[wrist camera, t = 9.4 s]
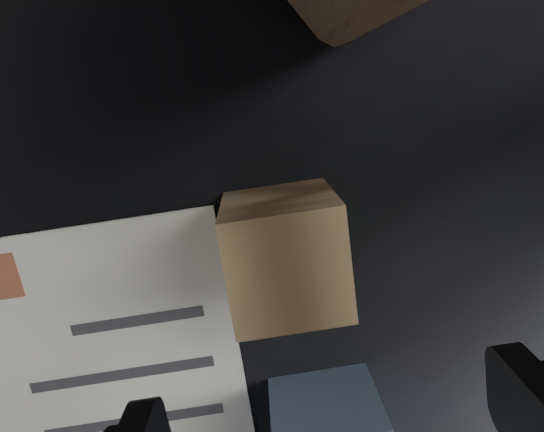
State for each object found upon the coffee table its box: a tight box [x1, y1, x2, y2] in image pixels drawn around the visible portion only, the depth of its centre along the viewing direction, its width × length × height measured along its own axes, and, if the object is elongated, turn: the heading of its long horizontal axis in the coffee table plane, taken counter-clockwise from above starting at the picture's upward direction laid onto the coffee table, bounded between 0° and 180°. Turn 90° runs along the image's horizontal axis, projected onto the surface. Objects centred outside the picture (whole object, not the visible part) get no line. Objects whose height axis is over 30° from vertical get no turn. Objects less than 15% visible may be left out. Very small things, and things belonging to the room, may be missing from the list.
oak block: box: [215, 178, 358, 343], centre depth 21 cm, size 5×5×6 cm
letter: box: [0, 205, 255, 432], centre depth 26 cm, size 14×18×1 cm
